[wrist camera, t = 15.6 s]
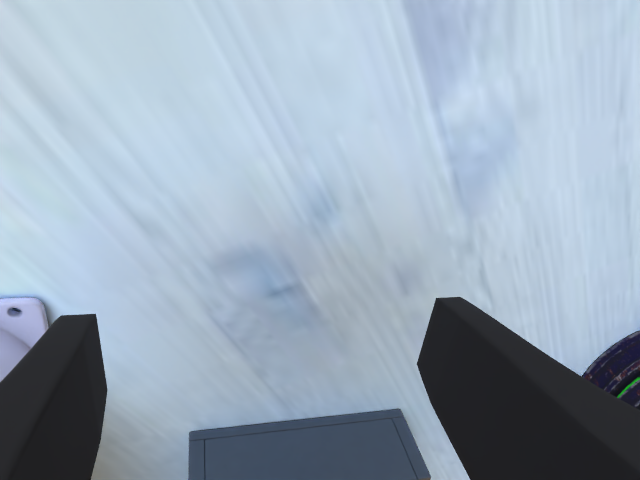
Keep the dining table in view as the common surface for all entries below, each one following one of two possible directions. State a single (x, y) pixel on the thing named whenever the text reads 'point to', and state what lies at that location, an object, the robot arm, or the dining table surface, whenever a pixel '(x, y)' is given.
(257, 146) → the dining table surface
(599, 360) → the dark purple cylinder
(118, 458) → the dining table surface
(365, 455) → the open square box
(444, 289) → the dining table surface
